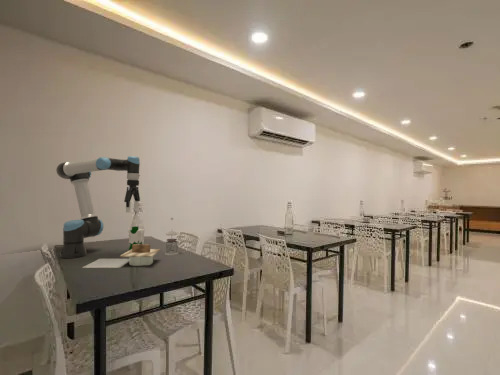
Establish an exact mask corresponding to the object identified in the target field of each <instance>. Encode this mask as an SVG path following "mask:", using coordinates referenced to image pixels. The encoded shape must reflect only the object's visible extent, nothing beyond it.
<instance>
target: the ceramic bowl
mask: <svg viewBox="0 0 500 375" xmlns="http://www.w3.org/2000/svg"><path fill="white" fill-rule="evenodd" d="M128 259H129V262H128V263H129V265H130V266H133V267H135V266H136V267H139V266H150V265H152V264H153V263H154V256H153V257H128Z"/></svg>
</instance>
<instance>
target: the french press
mask: <svg viewBox="0 0 500 375" xmlns="http://www.w3.org/2000/svg"><path fill="white" fill-rule="evenodd" d="M170 220H174V217H170ZM178 234H179V233H178V232H176V231H173V230H171V231H168V232H167V233H165V235H166V236H176V235H177V236H176V238H167V239H166V242H165V252H164V256H165V255H167V256H176V255H179V254H180V253H179V251H178V250H179V249H178V247H180V246H181V244H182V240H183V239H182V237H181V236H179V235H178ZM178 239H179V242H180V243H179V244H178V241H177V240H178Z"/></svg>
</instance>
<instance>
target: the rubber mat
mask: <svg viewBox="0 0 500 375" xmlns="http://www.w3.org/2000/svg"><path fill="white" fill-rule="evenodd" d="M127 263H129V258H98V259H96V260H94V261H93V262H90V263H88V264H86V265H85V266H82V267H81V268H82V269H83V268H84V269H87V268H88V269H90V268H91V269H92V268H94V269H95V268H97V269H100V268H101V269H103V268H105V269H108V268H109V269H110V268H111V269H112V268H113V269H115V268H118V269H119V268H120V269H121V267H124V266H125V265H126V264H127Z"/></svg>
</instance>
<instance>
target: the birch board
mask: <svg viewBox="0 0 500 375" xmlns="http://www.w3.org/2000/svg"><path fill="white" fill-rule="evenodd" d="M160 251H161V248H151V244H149V243H148V244H146V243H144V244H133V245H132V249H131V250H129V249H128V250H127V251H126V252H124V253H122V254H120V256H119V257H120V258H129V257H153V258H154V256H156V255H157V254H158V253H159V252H160Z"/></svg>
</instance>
